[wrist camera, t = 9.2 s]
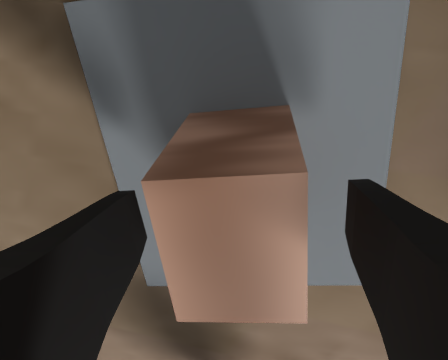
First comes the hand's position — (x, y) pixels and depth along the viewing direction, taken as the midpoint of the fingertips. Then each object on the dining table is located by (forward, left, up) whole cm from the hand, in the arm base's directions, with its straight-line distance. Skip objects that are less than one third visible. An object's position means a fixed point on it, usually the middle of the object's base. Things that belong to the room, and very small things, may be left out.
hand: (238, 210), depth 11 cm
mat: (0, 0, -4) cm, 4 cm away
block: (0, 0, -3) cm, 4 cm away
